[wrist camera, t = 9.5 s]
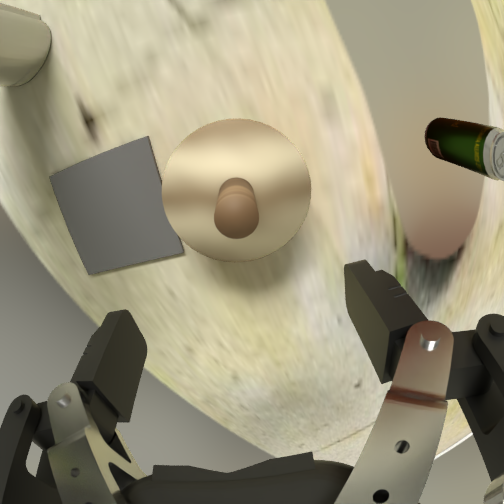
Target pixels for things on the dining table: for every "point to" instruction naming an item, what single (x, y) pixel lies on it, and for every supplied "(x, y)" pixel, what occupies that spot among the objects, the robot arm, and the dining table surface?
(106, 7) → the dining table surface
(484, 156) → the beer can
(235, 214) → the lid
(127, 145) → the mat
